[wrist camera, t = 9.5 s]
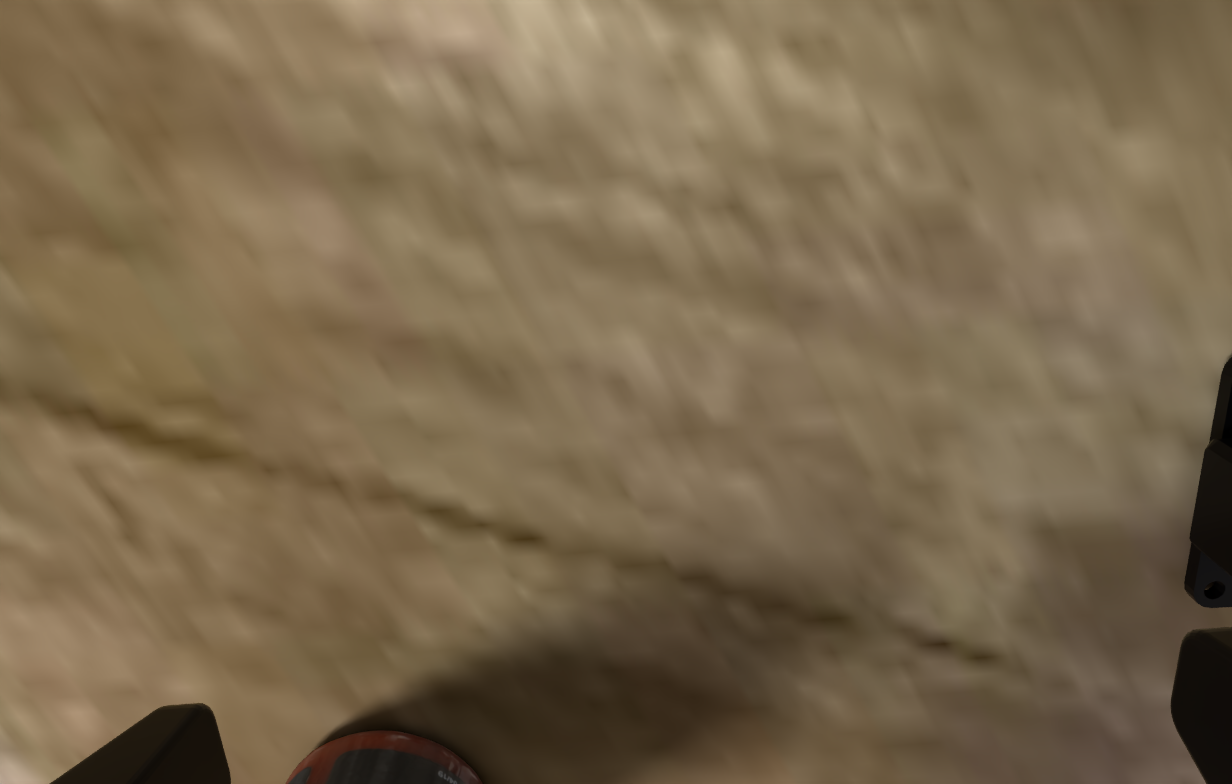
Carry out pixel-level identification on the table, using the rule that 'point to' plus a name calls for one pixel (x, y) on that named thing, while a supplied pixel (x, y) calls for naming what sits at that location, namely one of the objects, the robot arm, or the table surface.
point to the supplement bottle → (383, 762)
